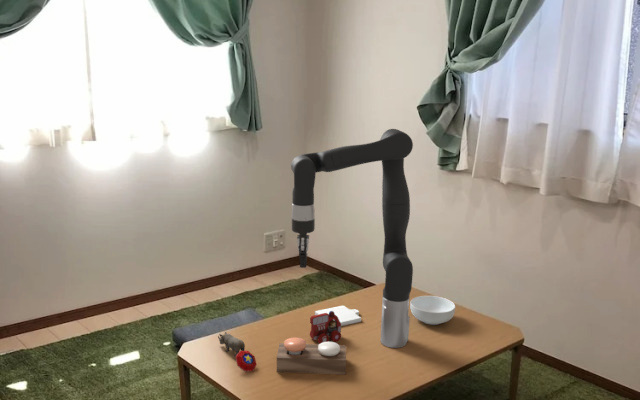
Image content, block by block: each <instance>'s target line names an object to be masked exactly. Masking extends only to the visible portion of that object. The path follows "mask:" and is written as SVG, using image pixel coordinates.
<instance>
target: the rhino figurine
mask: <svg viewBox="0 0 640 400" xmlns="http://www.w3.org/2000/svg"><path fill="white" fill-rule="evenodd" d="M217 338H218V339H219V344H220V345H224V346H225V347H226V348H225V353H229V352H230V349H231V351H233V352H235V354H234V355H233V358H235V357H236V355H237V354H238V352H239V351H246V350H245V349H246V344H245V342H244V341H243V340H242V339H240V338H237V337H235V336H234V335H232V334H231V333H227V331H225V332H224V334H221V333H219V335H218V336H217Z"/></svg>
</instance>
